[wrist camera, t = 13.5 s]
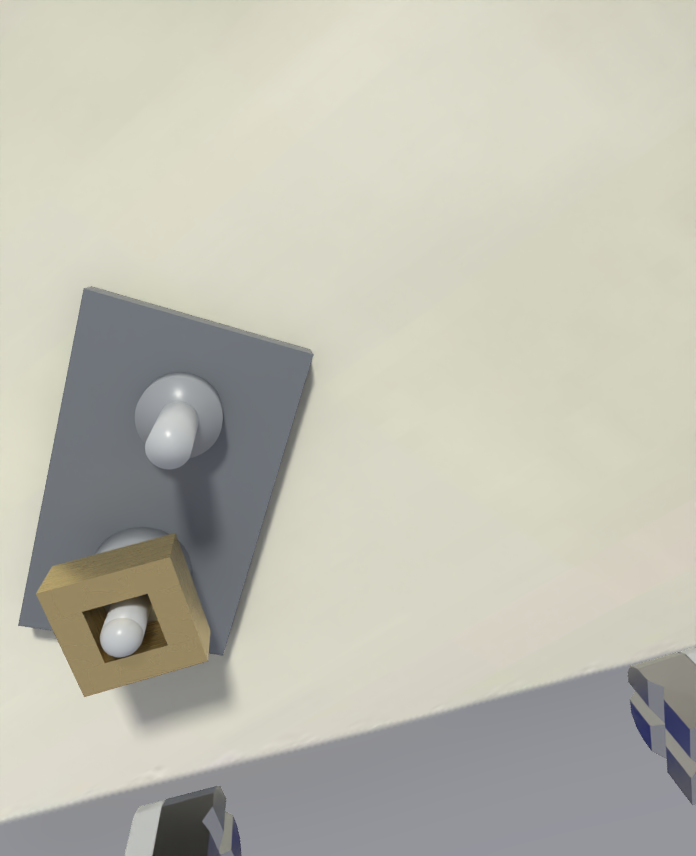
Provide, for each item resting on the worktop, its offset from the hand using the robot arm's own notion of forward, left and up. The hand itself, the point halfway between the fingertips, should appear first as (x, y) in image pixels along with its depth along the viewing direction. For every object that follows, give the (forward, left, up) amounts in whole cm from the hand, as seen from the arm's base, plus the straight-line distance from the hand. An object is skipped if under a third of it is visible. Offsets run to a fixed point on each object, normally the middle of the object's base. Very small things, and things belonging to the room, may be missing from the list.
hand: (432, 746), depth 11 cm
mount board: (+7, +7, -25) cm, 26 cm away
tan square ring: (+7, +12, -20) cm, 24 cm away
